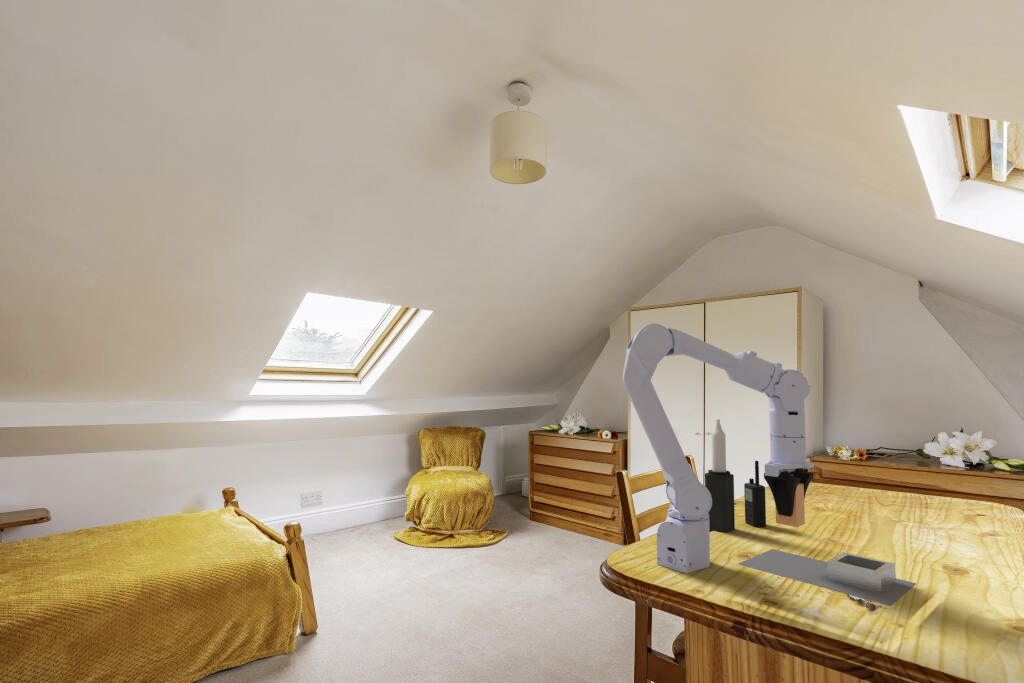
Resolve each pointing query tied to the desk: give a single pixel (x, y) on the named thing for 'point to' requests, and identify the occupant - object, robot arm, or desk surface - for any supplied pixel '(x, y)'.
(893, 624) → the desk surface
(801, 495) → the connector plug
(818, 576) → the mat
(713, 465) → the black nozzle bottle
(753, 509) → the walkie-talkie
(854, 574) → the end holder
